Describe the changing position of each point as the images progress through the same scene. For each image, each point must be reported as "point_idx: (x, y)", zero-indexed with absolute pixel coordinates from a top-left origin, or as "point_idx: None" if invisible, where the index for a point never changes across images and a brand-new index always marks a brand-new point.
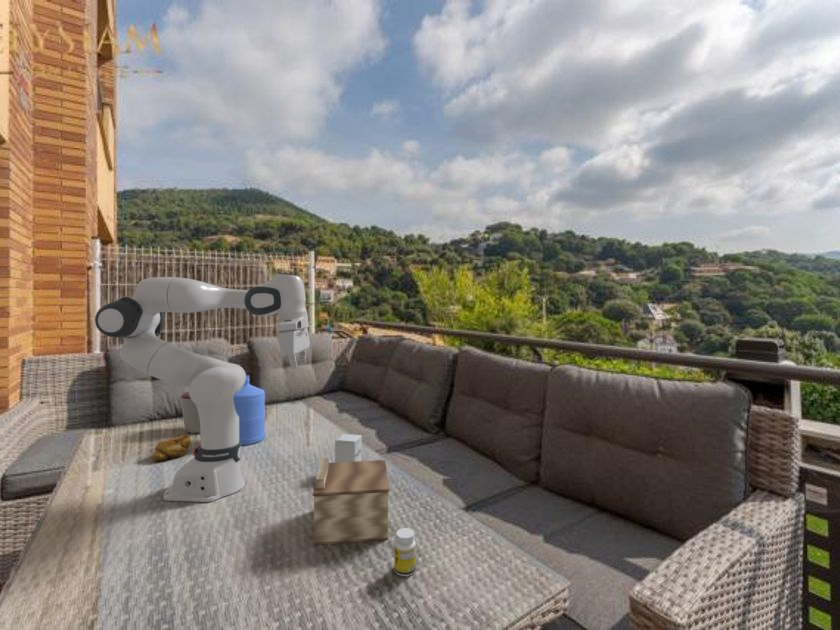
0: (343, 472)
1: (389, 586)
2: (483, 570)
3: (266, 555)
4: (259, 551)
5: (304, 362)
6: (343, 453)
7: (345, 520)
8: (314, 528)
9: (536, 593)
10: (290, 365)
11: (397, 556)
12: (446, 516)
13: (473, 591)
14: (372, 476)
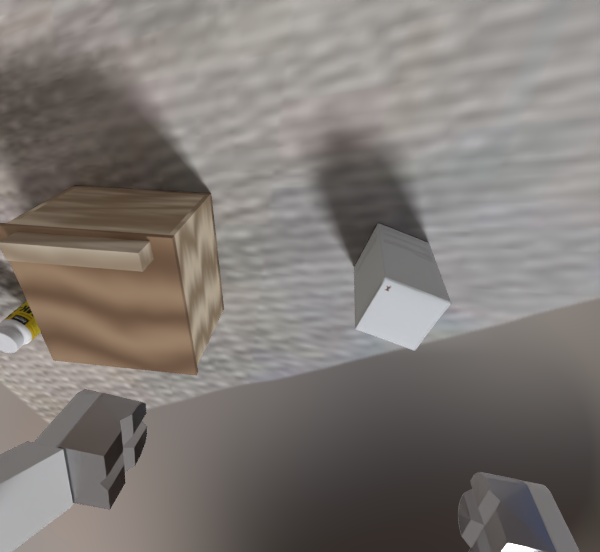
0: (117, 290)
1: (7, 285)
2: (62, 381)
3: (27, 95)
4: (36, 76)
5: (461, 523)
6: (368, 277)
7: None
8: (53, 197)
9: (36, 406)
10: (56, 417)
11: (11, 313)
12: (180, 381)
13: (24, 362)
14: (104, 342)
